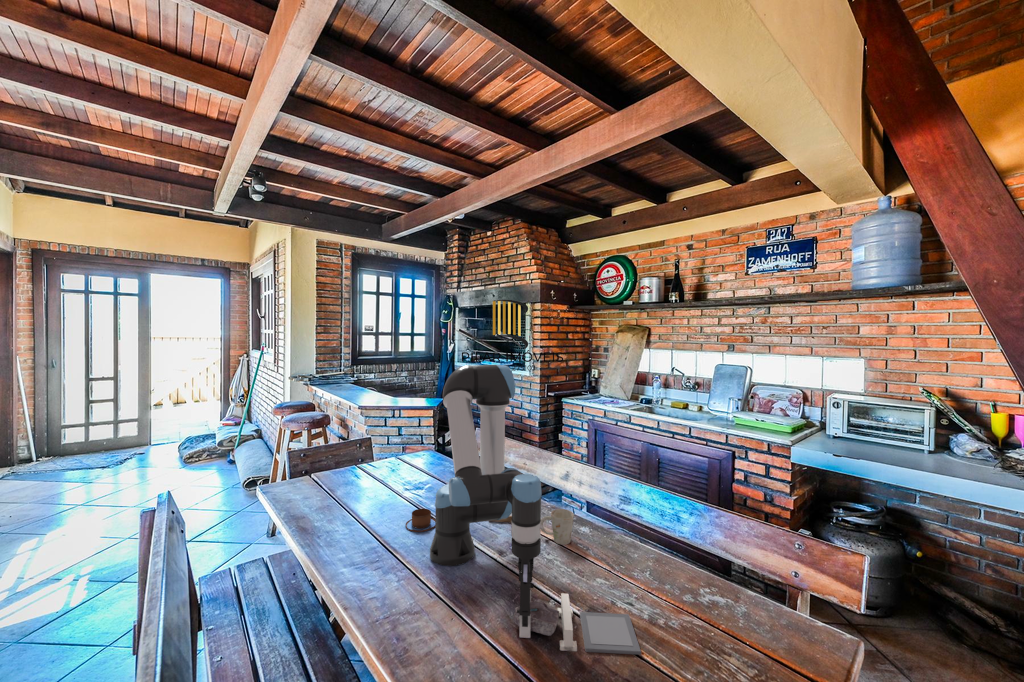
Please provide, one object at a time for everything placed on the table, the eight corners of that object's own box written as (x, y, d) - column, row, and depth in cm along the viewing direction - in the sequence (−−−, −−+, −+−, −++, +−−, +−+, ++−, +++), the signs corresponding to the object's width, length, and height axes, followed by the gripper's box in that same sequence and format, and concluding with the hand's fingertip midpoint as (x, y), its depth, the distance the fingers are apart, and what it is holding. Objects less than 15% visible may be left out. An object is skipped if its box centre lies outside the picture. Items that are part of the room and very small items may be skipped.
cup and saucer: (399, 531, 158) (399, 515, 158) (417, 519, 169) (417, 504, 169) (425, 537, 153) (425, 521, 153) (442, 524, 164) (442, 509, 164)
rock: (516, 610, 111) (518, 593, 112) (558, 619, 109) (560, 602, 109) (510, 630, 103) (512, 612, 104) (556, 640, 101) (557, 621, 101)
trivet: (585, 651, 98) (585, 648, 98) (579, 614, 111) (579, 611, 111) (640, 654, 97) (641, 650, 97) (628, 617, 110) (628, 613, 110)
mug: (572, 547, 147) (573, 519, 146) (537, 543, 149) (538, 516, 149) (574, 536, 155) (574, 510, 155) (540, 533, 157) (541, 507, 157)
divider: (560, 650, 99) (560, 629, 98) (557, 611, 113) (557, 593, 112) (576, 651, 98) (577, 630, 98) (572, 612, 112) (572, 593, 112)
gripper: (541, 559, 96) (540, 656, 96) (540, 519, 116) (539, 599, 117) (508, 558, 96) (508, 654, 97) (513, 518, 117) (513, 598, 117)
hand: (525, 624), depth 107 cm, fingers closed on rock, 8 cm apart
